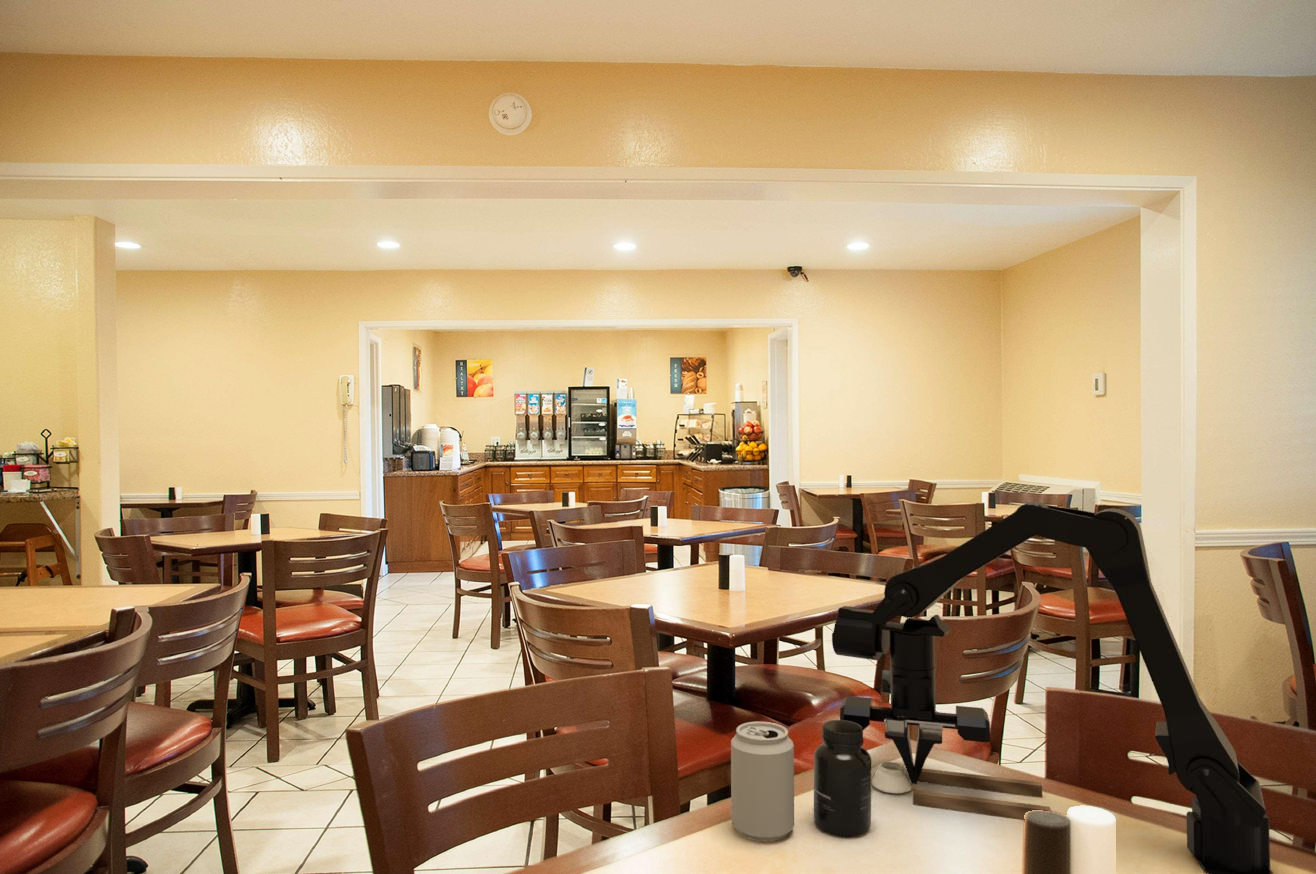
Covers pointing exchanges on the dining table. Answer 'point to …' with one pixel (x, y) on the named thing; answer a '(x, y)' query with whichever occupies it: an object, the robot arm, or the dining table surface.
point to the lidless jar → (891, 778)
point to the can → (762, 781)
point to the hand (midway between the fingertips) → (914, 782)
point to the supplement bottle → (842, 781)
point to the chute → (977, 803)
